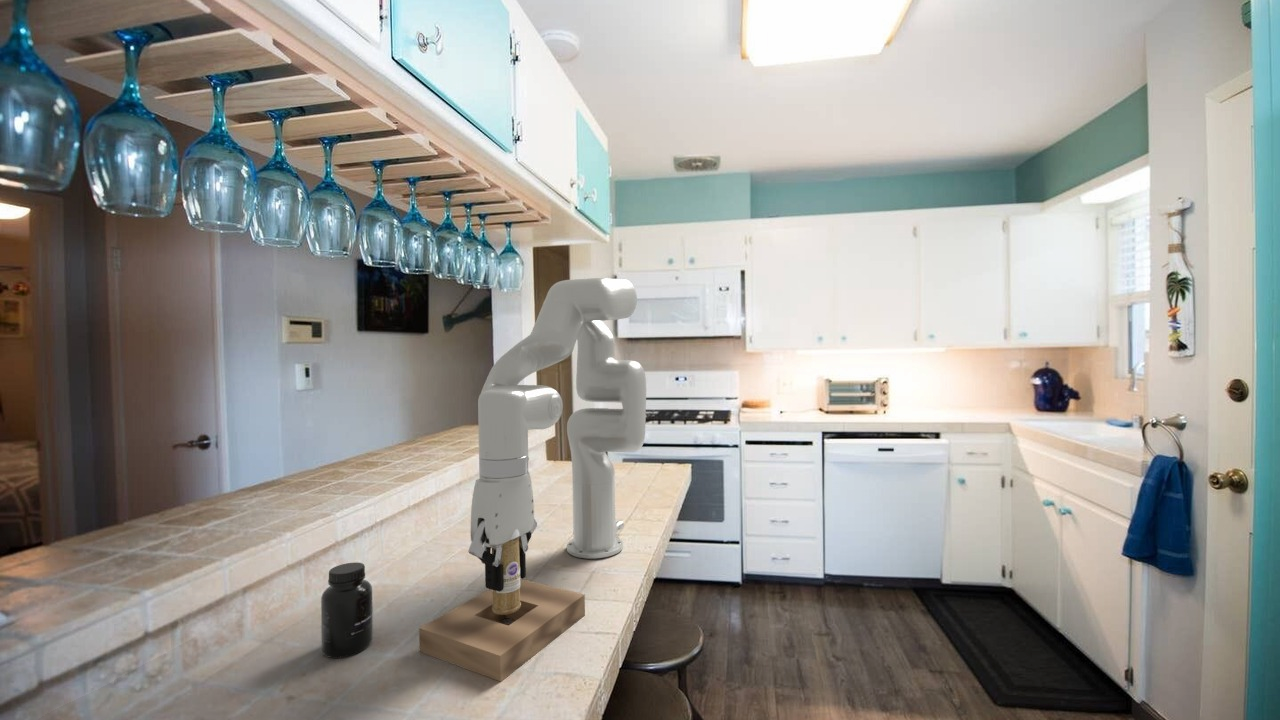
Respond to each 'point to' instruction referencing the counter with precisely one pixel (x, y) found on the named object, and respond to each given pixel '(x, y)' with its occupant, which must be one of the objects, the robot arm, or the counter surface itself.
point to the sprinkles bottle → (509, 578)
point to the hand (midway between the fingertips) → (506, 581)
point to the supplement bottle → (346, 611)
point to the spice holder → (501, 629)
